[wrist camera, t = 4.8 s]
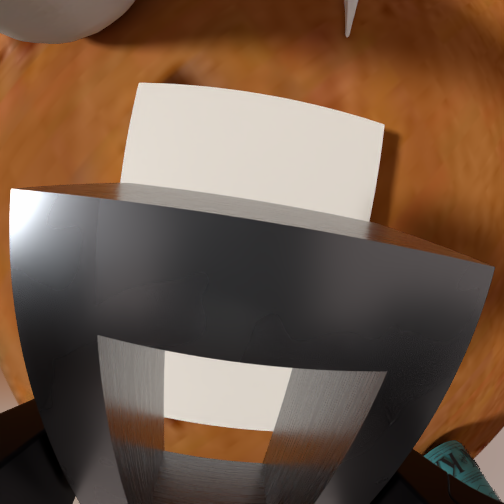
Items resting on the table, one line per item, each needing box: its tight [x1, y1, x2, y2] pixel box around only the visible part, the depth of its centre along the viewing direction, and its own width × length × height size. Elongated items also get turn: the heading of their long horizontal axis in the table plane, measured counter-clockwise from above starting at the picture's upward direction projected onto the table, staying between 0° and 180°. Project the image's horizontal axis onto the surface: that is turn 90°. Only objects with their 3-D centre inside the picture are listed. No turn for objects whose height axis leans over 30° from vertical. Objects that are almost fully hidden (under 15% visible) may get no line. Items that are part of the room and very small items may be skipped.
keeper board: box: [120, 83, 384, 431], centre depth 15 cm, size 20×13×5 cm, turn 171°
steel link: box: [10, 183, 495, 504], centre depth 6 cm, size 10×6×4 cm, turn 171°
